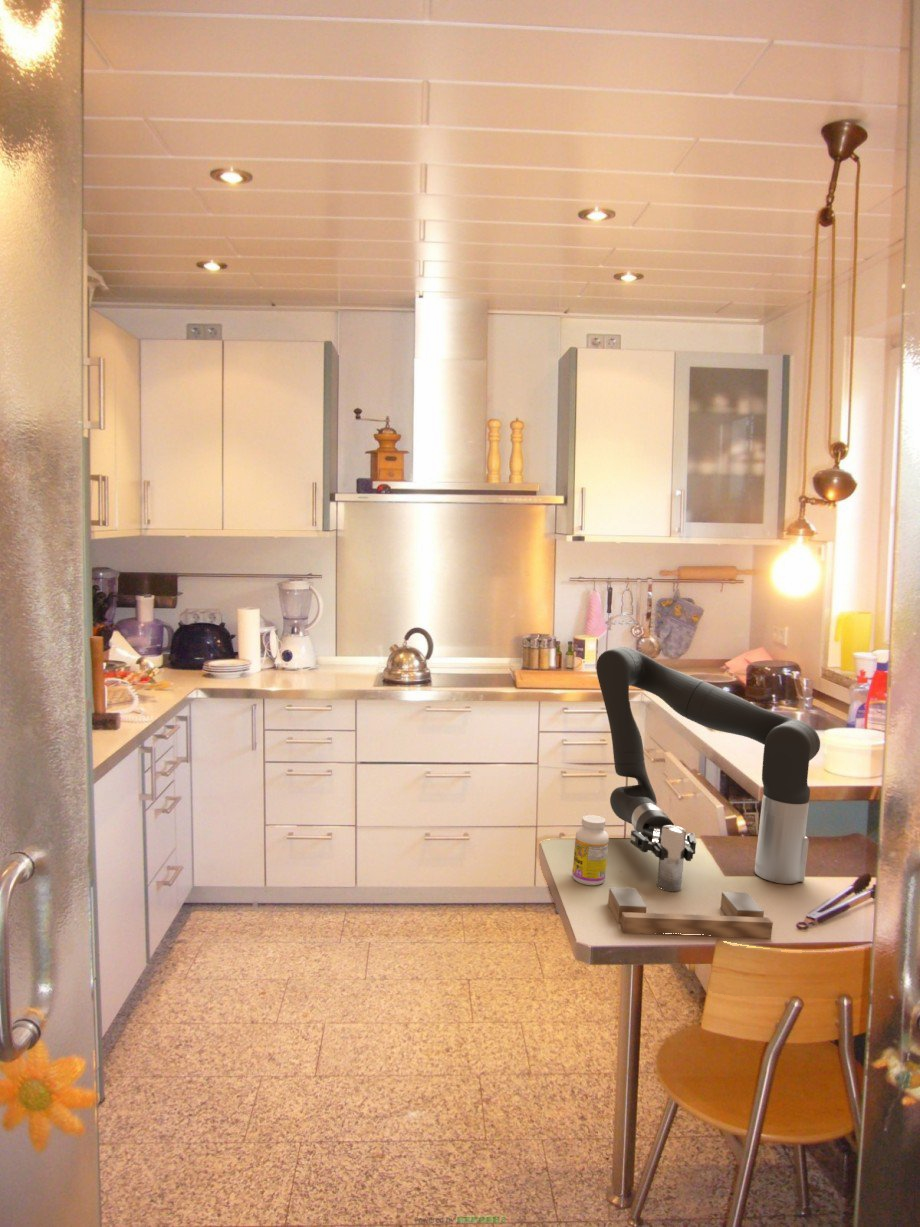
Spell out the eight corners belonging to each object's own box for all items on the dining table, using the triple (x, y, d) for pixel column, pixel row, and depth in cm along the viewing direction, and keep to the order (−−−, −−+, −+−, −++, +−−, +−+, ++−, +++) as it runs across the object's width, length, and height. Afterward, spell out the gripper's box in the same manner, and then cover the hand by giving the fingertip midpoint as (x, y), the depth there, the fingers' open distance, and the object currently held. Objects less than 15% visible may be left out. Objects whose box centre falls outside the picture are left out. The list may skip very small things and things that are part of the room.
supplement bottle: (569, 872, 185) (574, 812, 184) (600, 873, 186) (605, 813, 184) (575, 886, 179) (581, 823, 177) (608, 887, 179) (614, 825, 178)
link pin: (676, 881, 184) (682, 825, 182) (684, 892, 179) (689, 834, 178) (653, 881, 183) (659, 824, 182) (660, 891, 179) (666, 833, 177)
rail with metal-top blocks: (745, 908, 173) (747, 892, 173) (770, 938, 161) (772, 920, 161) (608, 903, 171) (609, 887, 171) (623, 933, 159) (625, 915, 159)
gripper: (621, 807, 194) (642, 836, 177) (686, 810, 195) (713, 839, 178) (618, 840, 195) (639, 872, 178) (683, 843, 196) (709, 875, 179)
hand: (676, 855), depth 178 cm, fingers closed on link pin, 4 cm apart
